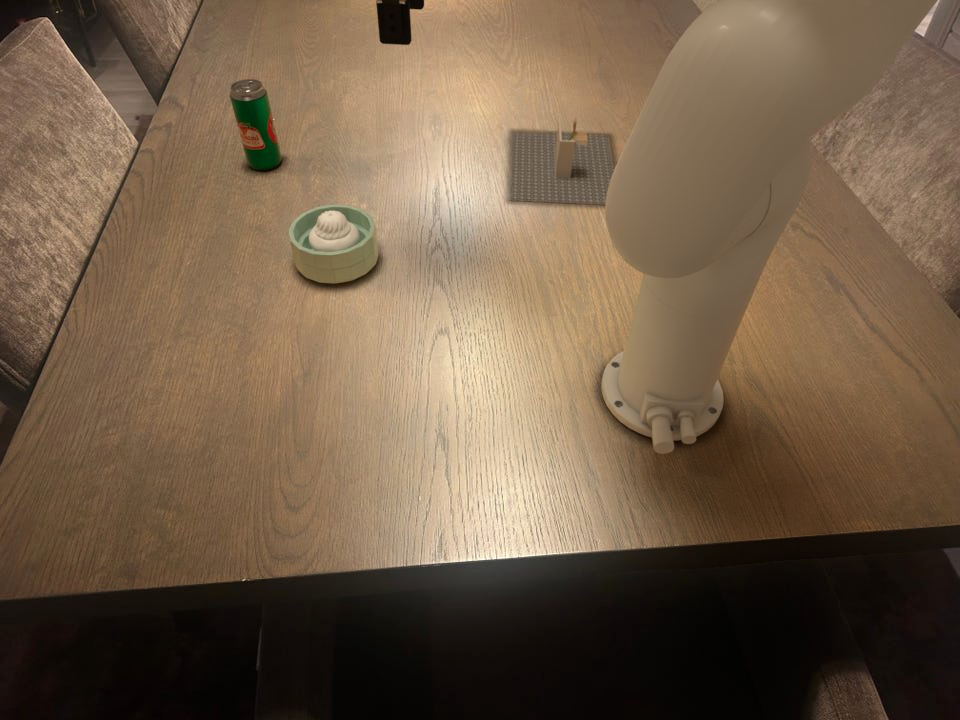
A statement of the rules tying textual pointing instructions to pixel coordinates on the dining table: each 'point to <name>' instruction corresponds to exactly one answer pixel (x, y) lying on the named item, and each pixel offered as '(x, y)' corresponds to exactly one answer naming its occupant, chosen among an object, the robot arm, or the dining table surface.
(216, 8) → the dining table surface
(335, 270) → the bowl
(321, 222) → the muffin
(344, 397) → the dining table surface
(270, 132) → the soda can
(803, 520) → the dining table surface
